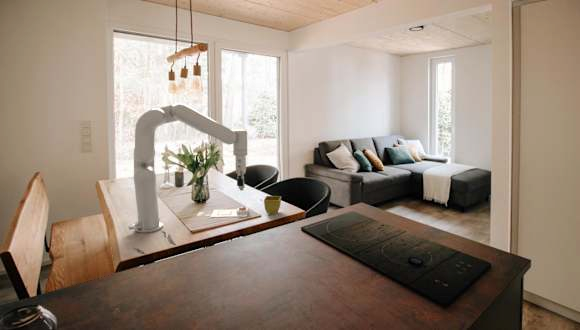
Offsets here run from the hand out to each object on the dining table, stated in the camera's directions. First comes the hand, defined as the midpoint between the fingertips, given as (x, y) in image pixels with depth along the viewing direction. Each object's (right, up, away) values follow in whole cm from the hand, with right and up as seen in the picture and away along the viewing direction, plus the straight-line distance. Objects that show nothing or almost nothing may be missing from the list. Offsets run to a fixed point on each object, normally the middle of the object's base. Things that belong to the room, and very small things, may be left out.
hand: (240, 184), depth 175 cm
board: (-6, -17, +3) cm, 18 cm away
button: (+1, -16, +3) cm, 16 cm away
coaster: (-21, -17, +2) cm, 27 cm away
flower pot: (+18, -17, +4) cm, 25 cm away
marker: (+1, -3, +1) cm, 3 cm away
